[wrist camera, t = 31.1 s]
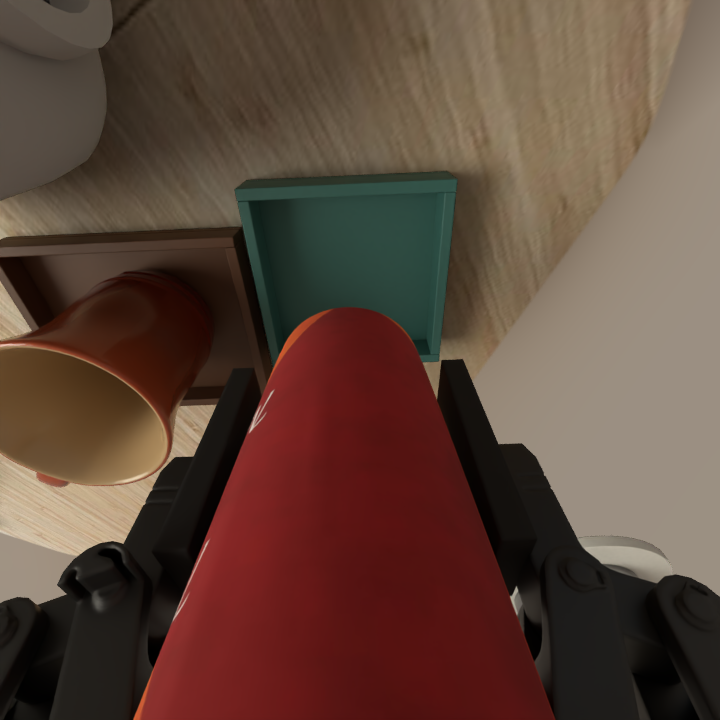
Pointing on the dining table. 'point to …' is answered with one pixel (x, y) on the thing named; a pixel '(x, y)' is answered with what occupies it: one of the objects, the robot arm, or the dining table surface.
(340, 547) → the paper cup
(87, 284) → the walnut tray
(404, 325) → the teal tray
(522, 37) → the dining table surface
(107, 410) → the mug
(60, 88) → the jar
